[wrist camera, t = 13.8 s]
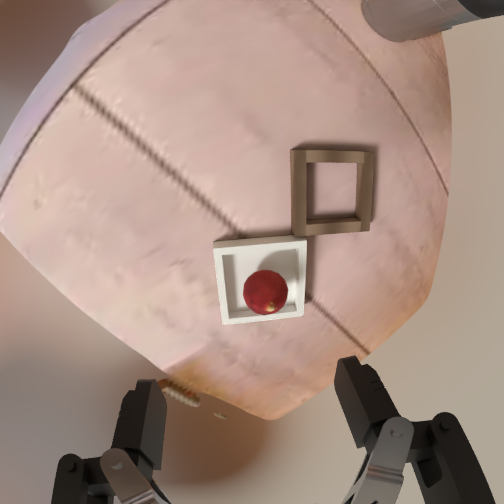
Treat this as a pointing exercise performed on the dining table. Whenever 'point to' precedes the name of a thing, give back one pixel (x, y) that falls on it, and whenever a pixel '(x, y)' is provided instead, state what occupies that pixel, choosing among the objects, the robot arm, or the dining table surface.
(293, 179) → the frame
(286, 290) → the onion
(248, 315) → the tray
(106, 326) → the dining table surface
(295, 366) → the dining table surface
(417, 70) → the dining table surface
